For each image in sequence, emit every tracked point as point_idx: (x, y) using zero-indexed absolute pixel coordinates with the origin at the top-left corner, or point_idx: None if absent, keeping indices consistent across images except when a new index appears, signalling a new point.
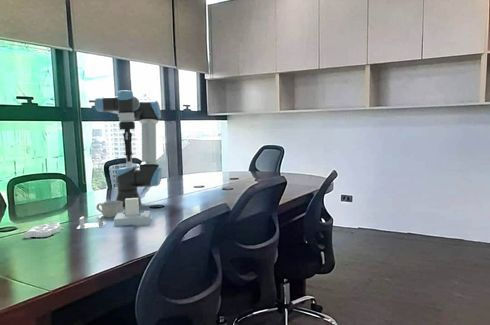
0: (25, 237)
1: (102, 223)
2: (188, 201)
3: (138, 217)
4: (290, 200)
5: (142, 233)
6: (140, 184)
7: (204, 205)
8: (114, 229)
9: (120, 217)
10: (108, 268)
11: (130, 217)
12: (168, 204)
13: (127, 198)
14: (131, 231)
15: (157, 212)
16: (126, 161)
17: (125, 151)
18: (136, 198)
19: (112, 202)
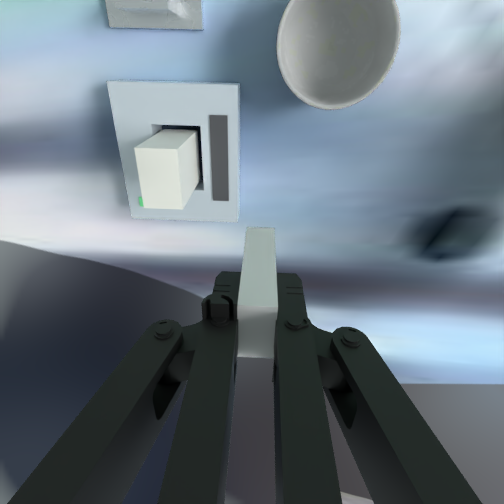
0: None
1: (162, 14)
2: (471, 334)
3: (125, 183)
4: None
5: (31, 188)
6: None
7: None
8: (91, 83)
9: (136, 109)
10: None
11: (128, 153)
12: (465, 274)
13: (175, 158)
14: (57, 151)
15: (333, 234)
16: (243, 261)
17: (129, 351)
18: (162, 202)
19: (392, 40)
